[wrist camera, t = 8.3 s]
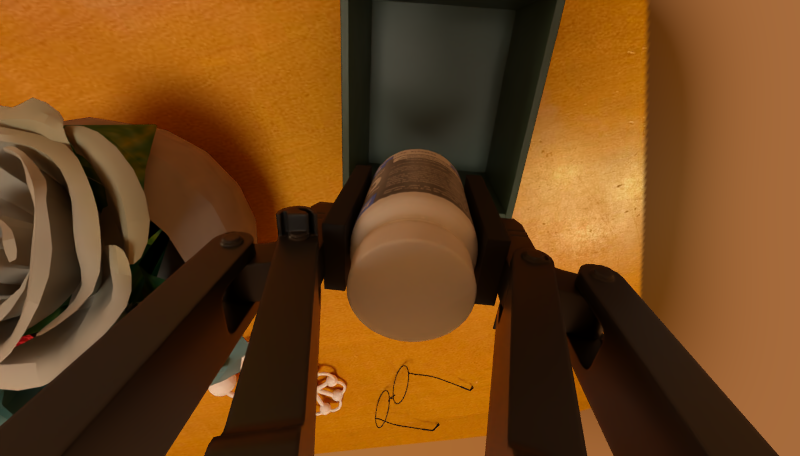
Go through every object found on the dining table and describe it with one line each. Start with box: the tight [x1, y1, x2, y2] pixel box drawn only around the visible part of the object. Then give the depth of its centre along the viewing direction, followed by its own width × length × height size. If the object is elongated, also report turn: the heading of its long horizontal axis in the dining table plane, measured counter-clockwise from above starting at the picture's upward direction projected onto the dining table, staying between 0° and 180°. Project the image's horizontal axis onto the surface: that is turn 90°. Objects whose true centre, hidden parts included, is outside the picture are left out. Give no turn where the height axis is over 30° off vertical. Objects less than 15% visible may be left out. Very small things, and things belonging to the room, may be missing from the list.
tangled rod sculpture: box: [208, 342, 346, 416], centre depth 50 cm, size 19×14×4 cm
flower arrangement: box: [0, 98, 257, 426], centre depth 28 cm, size 25×25×24 cm
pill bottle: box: [347, 149, 478, 342], centre depth 14 cm, size 5×5×8 cm
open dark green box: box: [340, 0, 565, 219], centre depth 27 cm, size 15×13×10 cm
